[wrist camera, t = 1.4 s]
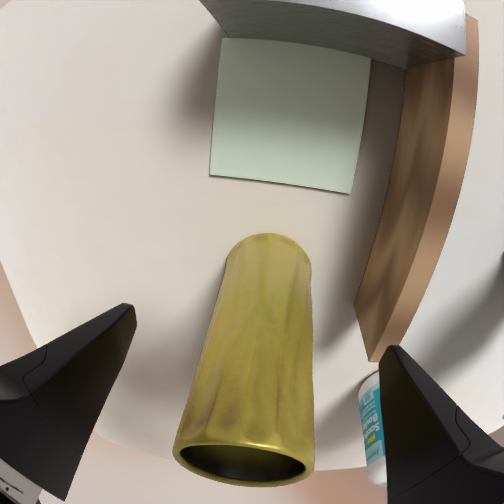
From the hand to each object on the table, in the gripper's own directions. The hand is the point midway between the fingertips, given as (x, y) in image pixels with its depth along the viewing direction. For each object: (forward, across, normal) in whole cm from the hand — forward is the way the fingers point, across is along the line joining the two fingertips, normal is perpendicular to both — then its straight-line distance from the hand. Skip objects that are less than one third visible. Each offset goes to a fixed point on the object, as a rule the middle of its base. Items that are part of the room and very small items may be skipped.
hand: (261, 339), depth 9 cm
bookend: (+11, -1, -15) cm, 19 cm away
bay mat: (+11, 0, -7) cm, 13 cm away
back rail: (+11, -8, -4) cm, 14 cm away
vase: (+11, 0, +4) cm, 12 cm away
